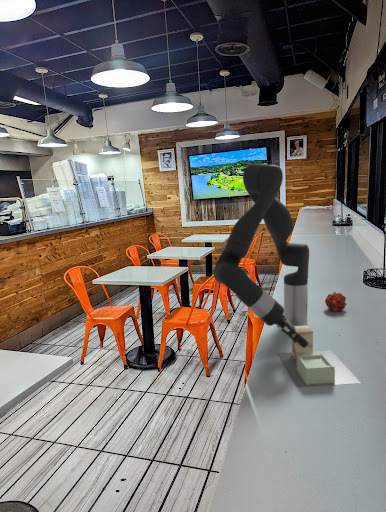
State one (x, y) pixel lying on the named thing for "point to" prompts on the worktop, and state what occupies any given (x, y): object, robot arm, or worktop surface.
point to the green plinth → (315, 369)
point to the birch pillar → (308, 336)
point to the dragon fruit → (335, 301)
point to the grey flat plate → (340, 378)
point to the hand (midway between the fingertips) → (301, 339)
